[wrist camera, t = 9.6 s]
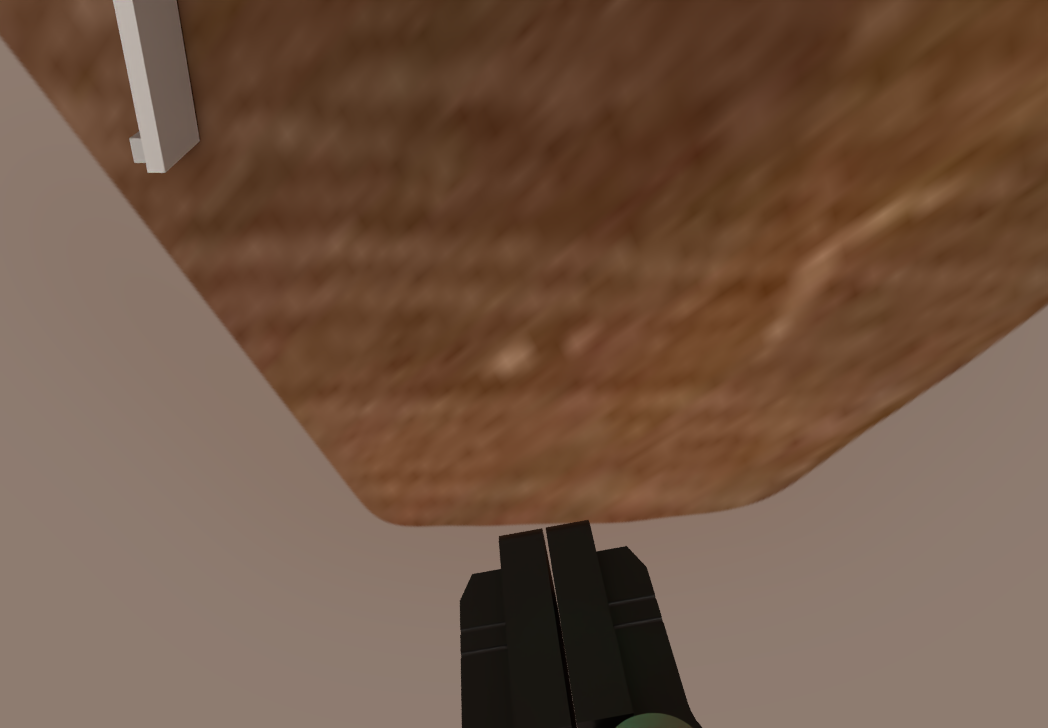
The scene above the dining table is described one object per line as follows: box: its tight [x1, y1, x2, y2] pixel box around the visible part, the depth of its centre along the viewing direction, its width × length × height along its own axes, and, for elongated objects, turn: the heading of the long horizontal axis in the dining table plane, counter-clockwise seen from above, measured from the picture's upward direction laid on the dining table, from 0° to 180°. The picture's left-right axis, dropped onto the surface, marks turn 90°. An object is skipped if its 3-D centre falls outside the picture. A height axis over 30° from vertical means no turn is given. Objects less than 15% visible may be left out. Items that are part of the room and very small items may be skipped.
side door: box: [113, 0, 200, 173], centre depth 36 cm, size 14×2×6 cm, turn 178°
